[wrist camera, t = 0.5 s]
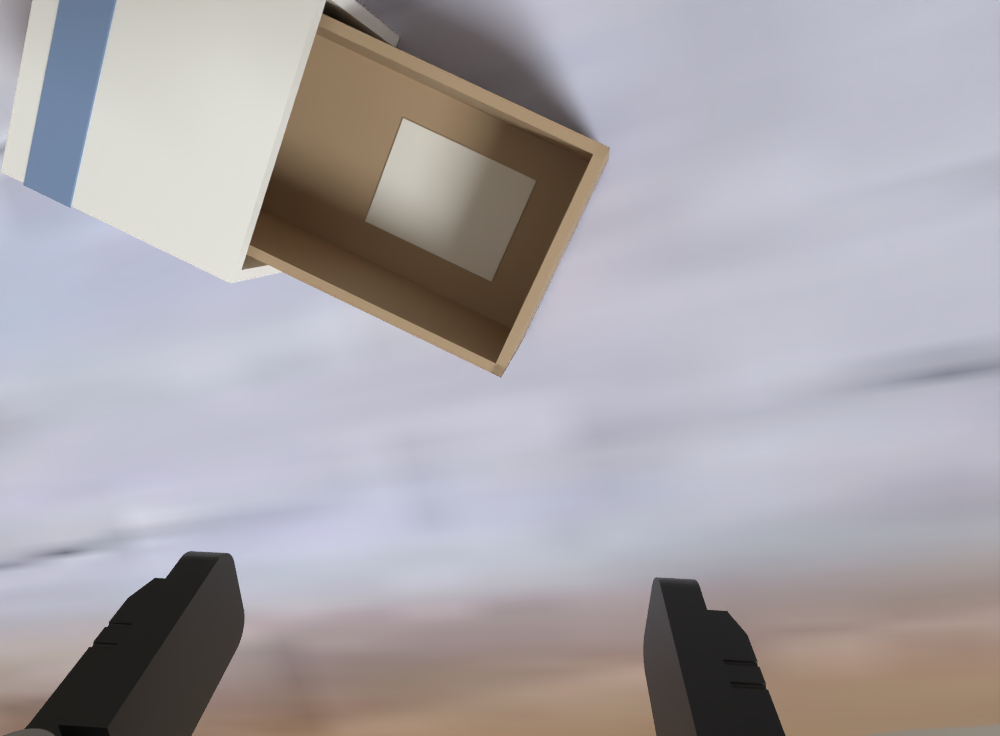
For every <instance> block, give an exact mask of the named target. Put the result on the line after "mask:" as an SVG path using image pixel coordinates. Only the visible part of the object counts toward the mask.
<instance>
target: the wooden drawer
mask: <svg viewBox="0 0 1000 736" xmlns="http://www.w3.org/2000/svg"><path fill="white" fill-rule="evenodd" d="M609 150H610V148H609V147H607V146H605V145H603V144H601V143H599V142H597V141H594V140H592V139H590V138H588V137H586V136H584V135H582V134H579V133H577V132H575V131H573V130H571V129H569V128H567V127H564V126H562V125H560V124H558V123H556V122H554V121H552V120H549V119H547V118H545V117H543V116H541V115H539V114H537V113H534V112H532V111H530V110H528V109H526V108H524V107H522V106H519V105H517V104H515V103H513V102H511V101H509V100H507V99H504V98H502V97H500V96H498V95H496V94H494V93H492V92H489V91H487V90H485V89H483V88H481V87H479V86H477V85H474V84H472V83H470V82H468V81H466V80H464V79H462V78H460V77H457V76H455V75H453V74H451V73H449V72H447V71H445V70H442V69H440V68H438V67H436V66H434V65H432V64H430V63H427V62H425V61H423V60H421V59H419V58H417V57H415V56H412V55H410V54H408V53H406V52H404V51H402V50H400V49H397V48H395V47H393V46H391V45H389V44H387V43H385V42H382V41H380V40H378V39H376V38H374V37H372V36H370V35H367V34H365V33H363V32H361V31H359V30H357V29H355V28H352V27H350V26H348V25H346V24H344V23H342V22H340V21H337V20H335V19H333V18H331V17H329V16H327V15H325V14H322V15H321V19H320V22H319V25H318V28H317V31H316V35H315V38H314V41H313V44H312V47H311V50H310V54H309V57H308V60H307V63H306V66H305V69H304V73H303V76H302V79H301V82H300V85H299V89H298V92H297V95H296V98H295V101H294V104H293V108H292V111H291V114H290V117H289V120H288V123H287V127H286V130H285V133H284V136H283V139H282V143H281V146H280V149H279V152H278V155H277V158H276V162H275V165H274V168H273V171H272V174H271V177H270V181H269V184H268V187H267V190H266V193H265V197H264V200H263V203H262V206H261V209H260V212H259V216H258V219H257V222H256V225H255V228H254V231H253V235H252V238H251V241H250V244H249V247H248V251H247V254H246V255H249V256H251V257H253V258H255V259H257V260H259V261H261V262H263V263H265V264H267V265H269V266H271V267H273V268H275V269H277V270H280V271H282V272H284V273H286V274H288V275H290V276H292V277H294V278H296V279H298V280H300V281H302V282H304V283H306V284H309V285H311V286H313V287H315V288H317V289H319V290H321V291H323V292H325V293H327V294H329V295H331V296H333V297H335V298H338V299H340V300H342V301H344V302H346V303H348V304H350V305H352V306H354V307H356V308H358V309H360V310H362V311H364V312H366V313H369V314H371V315H373V316H375V317H377V318H379V319H381V320H383V321H385V322H387V323H389V324H391V325H393V326H395V327H398V328H400V329H402V330H404V331H406V332H408V333H410V334H412V335H414V336H416V337H418V338H420V339H422V340H424V341H426V342H429V343H431V344H433V345H435V346H437V347H439V348H441V349H443V350H445V351H447V352H449V353H451V354H453V355H455V356H458V357H460V358H462V359H464V360H466V361H468V362H470V363H472V364H474V365H476V366H478V367H480V368H482V369H484V370H487V371H489V372H491V373H493V374H495V375H497V376H499V377H502V375H503V373H504V372H505V370H506V368H507V366H508V365H509V363H510V361H511V360H512V358H513V356H514V354H515V353H516V351H517V349H518V347H519V346H520V344H521V342H522V340H523V338H524V336H525V334H526V332H527V330H528V328H529V326H530V324H531V322H532V319H533V317H534V315H535V313H536V311H537V309H538V307H539V305H540V303H541V300H542V298H543V296H544V294H545V292H546V290H547V288H548V286H549V284H550V282H551V279H552V277H553V275H554V273H555V271H556V269H557V267H558V265H559V263H560V261H561V258H562V256H563V254H564V252H565V250H566V248H567V246H568V244H569V242H570V239H571V237H572V235H573V233H574V231H575V229H576V227H577V225H578V223H579V221H580V218H581V216H582V214H583V212H584V210H585V208H586V206H587V204H588V202H589V200H590V197H591V195H592V193H593V191H594V189H595V187H596V185H597V183H598V181H599V178H600V176H601V174H602V172H603V170H604V168H605V166H606V164H607V162H608V158H609Z"/></svg>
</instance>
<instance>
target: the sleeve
mask: <svg viewBox="0 0 1000 736" xmlns="http://www.w3.org/2000/svg"><path fill="white" fill-rule="evenodd" d="M322 14H325V15H327V16H329V17H331V18H333V19H335V20H337V21H340V22H342V23H344V24H346V25H348V26H350V27H352V28H355V29H357V30H359V31H361V32H363V33H365V34H367V35H370V36H372V37H374V38H376V39H378V40H380V41H382V42H385V43H387V44H389V45H391V46H393V47H395V48H396V47H397V44H398V41H399V38H400V37H399V36H398V35H397V34H396V33H394V32H393V31H392V30H391V29H389V28H388V27H387V26H386V25H385V24H383V23H382V22H381V21H380V20H378V19H377V18H376V17H375V16H374V15H372V14H371V13H370V12H369V11H367V10H366V9H365V8H364V7H363V6H361V5H360V4H359V3H358V2H356V1H355V0H32V5H31V11H30V16H29V22H28V27H27V32H26V38H25V43H24V49H23V54H22V60H21V65H20V71H19V76H18V82H17V87H16V93H15V98H14V104H13V109H12V114H11V120H10V125H9V131H8V136H7V142H6V147H5V153H4V158H3V164H2V169H1V172H2V173H4V174H6V175H8V176H10V177H12V178H14V179H16V180H18V181H20V182H22V183H24V185H25V186H27V187H29V188H31V189H33V190H35V191H37V192H39V193H41V194H43V195H45V196H47V197H49V198H51V199H53V200H55V201H58V202H60V203H62V204H64V205H66V206H68V207H71V206H72V207H74V208H76V209H78V210H80V211H82V212H84V213H86V214H88V215H90V216H93V217H95V218H97V219H99V220H101V221H103V222H105V223H107V224H109V225H111V226H113V227H115V228H117V229H119V230H121V231H123V232H126V233H128V234H130V235H132V236H134V237H136V238H138V239H140V240H142V241H144V242H146V243H148V244H150V245H152V246H154V247H156V248H158V249H161V250H163V251H165V252H167V253H169V254H171V255H173V256H175V257H177V258H179V259H181V260H183V261H185V262H187V263H189V264H191V265H194V266H196V267H198V268H200V269H202V270H204V271H206V272H208V273H210V274H212V275H214V276H216V277H218V278H220V279H222V280H224V281H226V282H229V283H235V282H239V281H244V280H248V279H253V278H258V277H262V276H267V275H272V274H276V273H281V272H282V271H280V270H277V269H275V268H273V267H271V266H269V265H267V264H265V263H263V262H261V261H259V260H257V259H255V258H253V257H251V256H249V255H246V254H247V251H248V247H249V244H250V241H251V238H252V235H253V231H254V228H255V225H256V222H257V219H258V216H259V212H260V209H261V206H262V203H263V200H264V197H265V193H266V190H267V187H268V184H269V181H270V177H271V174H272V171H273V168H274V165H275V162H276V158H277V155H278V152H279V149H280V146H281V143H282V139H283V136H284V133H285V130H286V127H287V123H288V120H289V117H290V114H291V111H292V108H293V104H294V101H295V98H296V95H297V92H298V89H299V85H300V82H301V79H302V76H303V73H304V69H305V66H306V63H307V60H308V57H309V54H310V50H311V47H312V44H313V41H314V38H315V35H316V31H317V28H318V25H319V22H320V19H321V15H322Z"/></svg>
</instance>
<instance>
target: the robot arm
mask: <svg viewBox="0 0 1000 736" xmlns="http://www.w3.org/2000/svg"><path fill="white" fill-rule="evenodd" d="M243 628H244V609H243V604H242V599H241V594H240V589H239V584H238V579H237V574H236V569H235V564H234V560H233V557H232V556H231V555H230V554H229V553H213V552H195V551H190V552H187V553H185V554H184V555H183V556H182V557H181V558H180V560H179V561H178V562H177V564H176V565H175V567H174V568H173V569H172V571H171V572H170V573H169V575H168V576H167V577H166V579H163V578H154V579H153V580H152V581H150V582H149V583H148V584H146V585H145V586H143V587H142V588H141V589H139V590H138V591H137V592H135V593H134V594H133V595H131V596H130V597H129V598H128V599H127V600H126V601H125V602H124V604H123V605H122V606H121V607H120V609H119V610H118V611H117V613H116V614H115V615H114V616H113V618H112V619H111V620H110V621H109V626H108V627H105V628H104V629H103V630H102V632H101V633H100V634H99V636H98V637H97V638H96V639H95V641H94V642H93V643H94V644H93V646H92V647H89V648H88V650H87V651H86V652H85V653H84V655H83V656H82V657H81V658H80V660H79V661H78V662H77V664H76V665H75V666H74V667H73V669H72V670H71V671H70V672H69V674H68V675H67V676H66V678H65V679H64V680H63V681H62V683H61V684H60V685H59V686H58V688H57V689H56V690H55V692H54V693H53V694H52V695H51V697H50V698H49V699H48V701H47V702H46V703H45V704H44V706H43V707H42V708H41V709H40V711H39V712H38V713H37V715H36V716H35V717H34V718H33V720H32V721H31V722H30V723H29V724H28V726H27V727H26V728H25V729H23V730H19V731H15V732H12V733H9V734H6V735H3V736H191V735H192V733H193V731H194V729H195V728H196V726H197V724H198V722H199V720H200V718H201V716H202V714H203V712H204V710H205V709H206V707H207V705H208V703H209V701H210V699H211V697H212V695H213V693H214V691H215V689H216V688H217V686H218V684H219V682H220V680H221V678H222V676H223V674H224V672H225V670H226V668H227V667H228V665H229V663H230V661H231V659H232V657H233V655H234V653H235V651H236V649H237V647H238V645H239V643H240V640H241V637H242V633H243ZM643 652H644V668H645V675H646V680H647V686H648V691H649V697H650V702H651V708H652V713H653V719H654V724H655V730H656V735H657V736H785V733H784V731H783V728H782V725H781V723H780V720H779V717H778V715H777V712H776V709H775V707H774V704H773V702H772V699H771V696H770V694H769V691H768V690H766V683H765V680H764V678H763V675H762V672H761V670H760V667H758V665H757V659H756V657H755V654H754V651H753V649H752V646H751V643H750V641H749V638H748V635H747V634H746V633H745V632H744V630H743V629H742V628H741V627H740V626H739V625H738V623H737V622H736V621H735V620H734V619H733V618H732V616H731V615H730V614H729V613H728V612H727V611H716V610H707V608H706V605H705V602H704V599H703V596H702V592H701V589H700V586H699V584H698V582H697V581H696V580H693V579H675V578H655V579H654V581H653V585H652V590H651V597H650V603H649V609H648V615H647V622H646V628H645V634H644V648H643Z"/></svg>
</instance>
